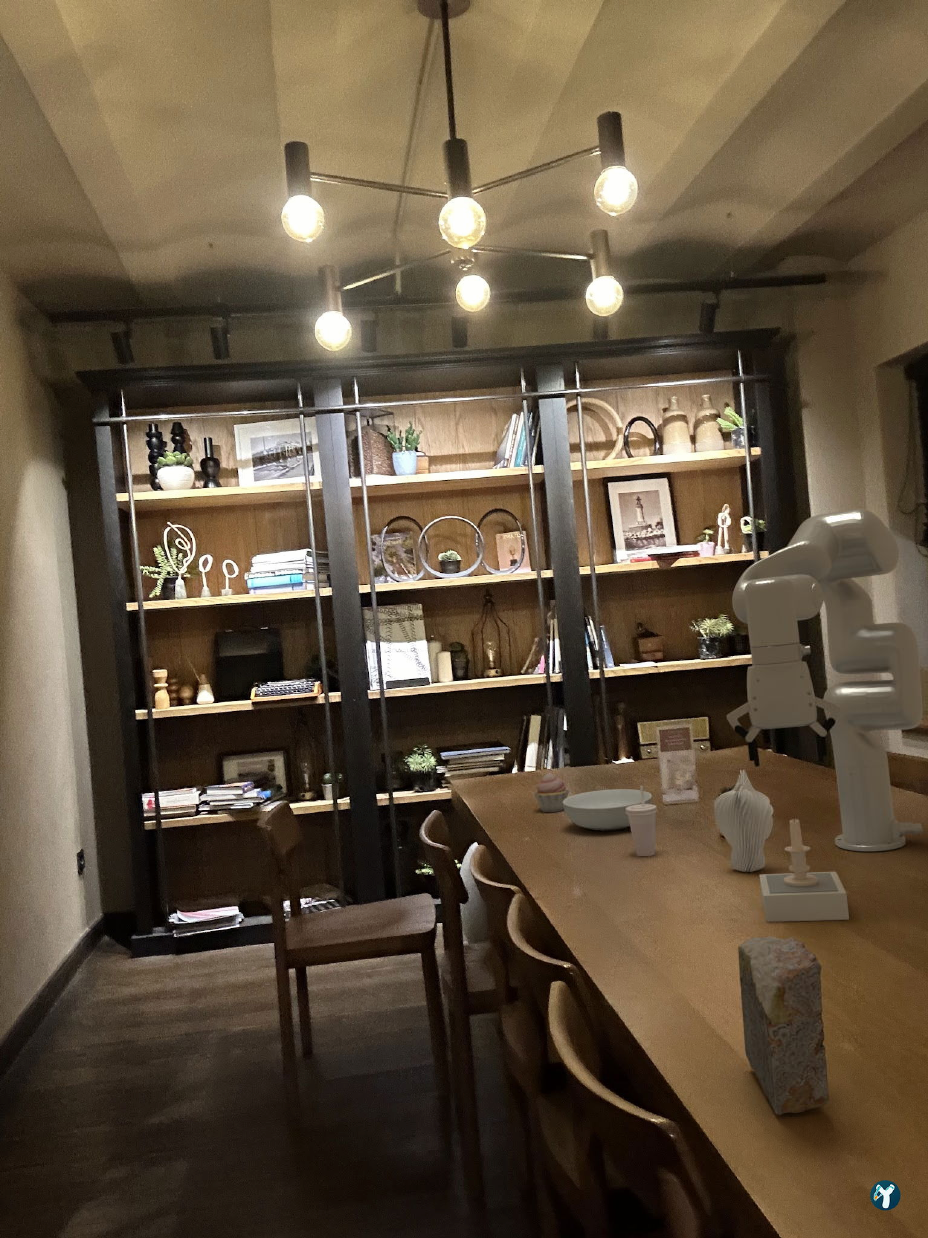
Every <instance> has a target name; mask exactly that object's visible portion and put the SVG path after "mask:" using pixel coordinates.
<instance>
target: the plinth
mask: <svg viewBox="0 0 928 1238" xmlns="http://www.w3.org/2000/svg"><path fill="white" fill-rule="evenodd" d="M806 873H807V875H812V876H815V877H817V878H818V883H817V884H816V885H813V886H807V887H794V886H789V885H786V884H785V883H784V878H785V877H787V876H791V875H794V872H793V873H770V874H769V873H768V874H767V873H766V874H763V873H762V874H759V884H760V893H761V900H762V905H763V911H764V918H765V920H766V922H767V923H770V922H772V923H773V922H803V921H804V922H806V921H840V920H841V921H842V920H844V921H847V920H850V917H849V916H850V915H849V907H848V898H847V892H846V890H845V889H846V888H844V886H843V883H842V882H841V879H840V877H839V876H838V873H837V872H836V871H821V872H819V871H818V872H806Z"/></svg>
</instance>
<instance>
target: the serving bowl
mask: <svg viewBox="0 0 928 1238" xmlns="http://www.w3.org/2000/svg"><path fill="white" fill-rule="evenodd" d="M643 793H644V802H645V804H651V805H653V804H652V803H653V795H652V794H651V793H650V792H648V791H645V790H643ZM639 804H642V800H641V791H640V790H639V789H632V788H631V789H630V788H629V789H625V788H622V789H620V788H616V789H615V788H614V789H603V790H593V791H586V792H581V793H578V794H574V795H571V796H567V798H566V799H564V801H563V806H564V810H563V811H564V812H565V814H566V816H567V817H568V819H569V820H570V821H571V822H572V823H574V824H575V825H576V826H579V827H582V828H584V829H590V830H594V831H598V830H601V831H602V832H608V831H607V830H612V831H618V830H623V829H627V828H628V827H630V823H629V819H628V814H626V808H627V807H629V806H632V805H639ZM605 830H606V831H605ZM601 831H600V832H601Z"/></svg>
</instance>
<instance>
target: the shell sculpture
mask: <svg viewBox="0 0 928 1238" xmlns="http://www.w3.org/2000/svg"><path fill="white" fill-rule="evenodd" d="M739 771H740V772H739V773H740V775H738V778H737V781H735V785H734V786H733V788H732V790H730V791H729V790H728V791H725V792H724V793H722V794H720V795H719V796H718V797H716V799H715V800H714V803H713V807H714V810H713V814H714V819H715V820H716V823H717V827H718V829H719V831H720V832H721V834H722V835H723V836H724V838H725V840H726V841H727V843H728V844H729V845H730V846H731V854H730V867H732V868H733V869H734V870H735V871H736V870H737V871H740V872H745V873H749V872H750V873H753V872H755V871H760V870H761V869H763V868H765V866H766V859H765V858H766V857H765V852H764V846H765V843H766V841H765V840H766V839H769V837H770V835H771V832H772V829H773V826H774V818H773V816H772V815H773V814H774V808H773V806H772V805H771V804H770V803H771V802H770V800H771V799H770V798H769V797H768V796H767V795H765V794H764V793H762V792H760V791H758V790H755V789H754V786H752V783H751V781H750V779H749V777H748V774H747V771H746V770H745V769H743V770H742V769H740V770H739ZM746 871H747V872H746Z"/></svg>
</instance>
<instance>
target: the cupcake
mask: <svg viewBox="0 0 928 1238" xmlns="http://www.w3.org/2000/svg"><path fill="white" fill-rule="evenodd" d="M536 790H537V791H536V792H535V793H533V795H534V796H535V799H536V801H537V803H538V804H539V808H540V811H541V812H542V813H547V812H552V813H559V812H562V811H565V810H564V806H563V801H564V799H566V798H568V797H569V796H568V795H569V793H570V790H568V789H567V786H566V784H565V783H564V781H563V780H562V779H561V778H560V777H556V775H554V774H553V773H552V772H551V771H549V772H548V773H546V774H545V775H544V776H543V777H542V778H541V779H540V782H539V783H538V785H537V786H536Z"/></svg>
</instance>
